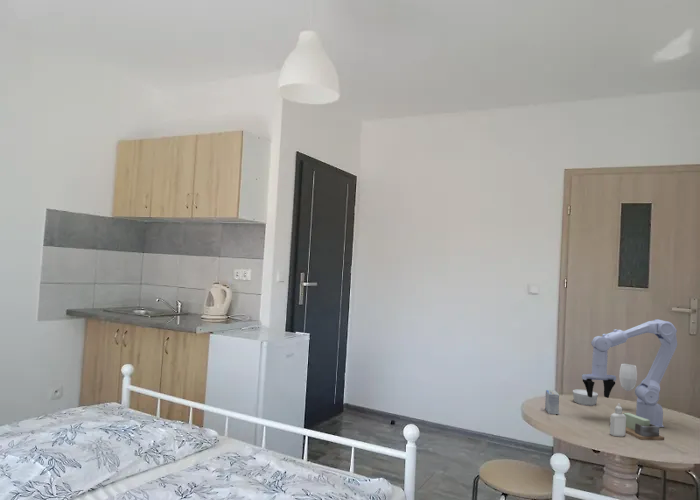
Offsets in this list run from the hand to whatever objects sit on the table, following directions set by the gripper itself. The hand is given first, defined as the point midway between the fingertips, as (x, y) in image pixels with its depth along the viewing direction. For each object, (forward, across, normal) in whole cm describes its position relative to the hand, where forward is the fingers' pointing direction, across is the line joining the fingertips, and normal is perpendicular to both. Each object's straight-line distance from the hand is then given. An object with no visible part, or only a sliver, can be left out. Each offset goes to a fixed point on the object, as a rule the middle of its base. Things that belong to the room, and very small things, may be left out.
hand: (598, 397), depth 222 cm
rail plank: (+8, -6, +16) cm, 19 cm away
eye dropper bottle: (+10, +5, +20) cm, 23 cm away
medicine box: (+10, +15, -10) cm, 20 cm away
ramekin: (+10, -11, -26) cm, 30 cm away
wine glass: (+10, -24, -14) cm, 29 cm away
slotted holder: (+9, -6, +16) cm, 20 cm away
